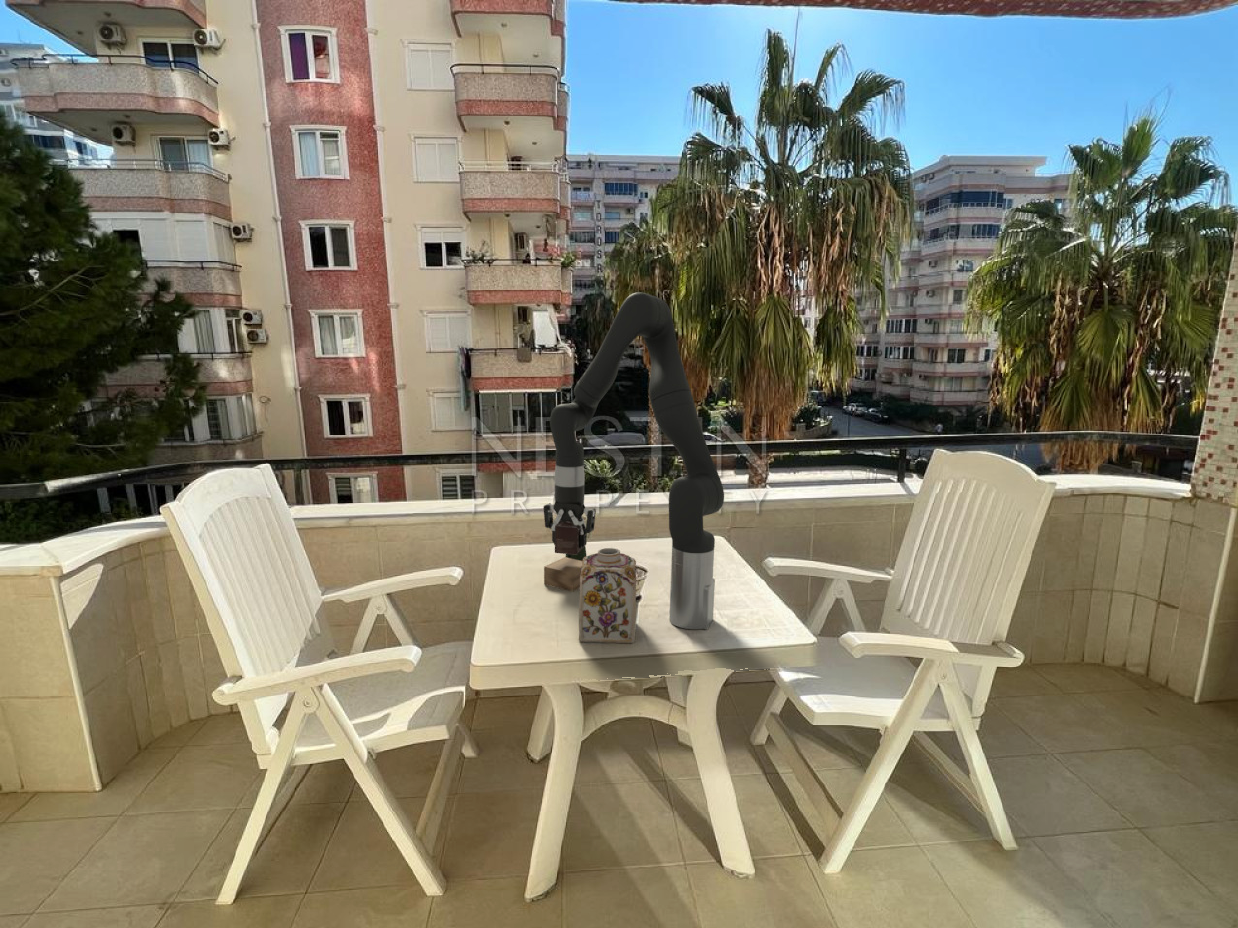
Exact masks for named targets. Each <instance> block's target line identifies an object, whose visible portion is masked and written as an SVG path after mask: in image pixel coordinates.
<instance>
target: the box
mask: <svg viewBox="0 0 1238 928" xmlns="http://www.w3.org/2000/svg"><path fill="white" fill-rule="evenodd" d="M579 534H580V533H579V526H575V525H574V523H570V522H568V521H567V522H560V523H558V524H557V525H555V545H554V553H555V554H562V555H566V554H572V555H577V554H578V553H579V552H580V551H581V550H582V549H583V548H582V549H580V548H579Z"/></svg>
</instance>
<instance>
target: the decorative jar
mask: <svg viewBox="0 0 1238 928" xmlns="http://www.w3.org/2000/svg"><path fill="white" fill-rule="evenodd" d="M636 566H637V561H636V559H635V558H633V557H632V556H630V555H628V554H625V553H621V550H619V549H618V548H613V547H607V548H606V547H605V548H602V549H601V548H600V549H599V550H598V551H597V553H593V554H589V555H586V557H584V558H583V560H582V567H581V569H582V570H581V572H580V579H579V580H580V588H579V601H578V602H579V605H578V606H579V609H578V641H579V642H581V643H606V644H607V643H608V644H634V643H635V640H636V638H635V637H636V635H635V633H636V618H637V617H636V613H637V612H636V609H637V608H636V605H637V603H636V602H637V568H636Z"/></svg>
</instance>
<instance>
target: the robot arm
mask: <svg viewBox="0 0 1238 928" xmlns="http://www.w3.org/2000/svg"><path fill="white" fill-rule="evenodd" d="M616 313H617V314H616V316H615V317H614V319H613V322H612V323H611V325H610V327H609V330H608V331H607V334H606V335H605V338H604V340H603V342H602V344H601V345H600V348H599V350H598V351H597V353H596V355H595V357H594V358H593V360H592V361H591V363H590V364H589V366H588V367H587V368H586V370H585V372H584V373H583V374H582V376H581V377H580V379H579V380H578V381H577V382H576V384H575V385H574V388H573V394H574V396H575V398H574V399H573V400H572V401H571V403H569V402H568V403H561V404H558V405H556V406H555V407H553V409H552V410H551V414H550V417H549V418H550V419H549V427H550V431H551V435H552V439H553V444H554V447H555V468H554V477H553V478H554V503H553V504H552V503H546V504H544V505H543V518H544V526H545V529H546V528H547V529H550V530H551V534H552V535H551V541H552V543H553V545H554V546H555V525H557V524H558V523H560V522H567V521H568V522H570V523H574V525H575V526H579V533H580V534H579V548H580V549H582V548H584V546H585V547H586V545H587V541H588V540H587V533H590V532H592V533H593V531H594V530H595V523H596V513H597V511H596V509H595V508H591V509H590V508H587V507H586V506H585V468H584V467H585V465H584V462H585V461H584V455H585V454H584V453H585V451H584V445H583V444H582V442H580V441H577V437H576V432H578V431H582V430H583V429H585V428H586V427H587V426H588V425H589V423H590V422H591V420H592V419H593V417H594V415H595V413H596V410H597V408H598V405H599V403H600V402H601V400H602V399H603V398H604V396H605V395H606V394H607V392H609V390H610V389H611V387H612V386H613V384H614V383H615V380H616V378H617V376H618V372H619V369H620V365H621V361H622V359H623V356H624V354H625V352H626V350H627V348H628V347H629V346H630V345H632V344H631V343H633V341H634V340H635V339H636V338H637V337H638V336H640V337H642V338H643V341H644V343H645V345H646V349H647V352H648V355H649V359H650V366H651V367H650V375H649V384H648V396H649V401H650V405H651V408H652V411H653V412H652V413H653V416H654V419H655V422H656V425H657V426H658V427H659V429H660V431H661V432H662V433H663V434H664V436H665V437H666V438H667V440H668V441H669V442H670V443H671V445H673V447H674V448H675V449H676V451H677V452H678V454H679V455H680V457H681V459H682V461H683V464H684V467H685V470H686V475H685V476H680V477H678V478H676V479H675V480H674V481H673V482H672V484H671V485H670V489H669V494H668V529H669V534H670V537H671V565H670V567H671V569H670V591H669V592H670V593H669V594H670V595H669V613H668V614H669V619H668V620H669V621H670V623H671V624H672V625H674V626H675V627H679V628H682V629H687V630H700V629H701V630H708V628H709V627H710V625H711V623H712V622H713V619H714V606H715V583H716V579H715V578H714V564H715V563H714V562H715V561H714V560H715V558H714V557H715V547H716V546H715V545H716V544H715V543H716V542H715V540H716V539H715V535H714V534H712V533H711V532H710V531H707V530H704V517H705V516H709V515H713V514H716V513H717V512H719V511H720V510H721V509H722V508H723V505H724V502H725V491H724V486H723V483H722V480H721V477H720V476H719V472H718V471H717V468H716V465H715V463H714V460H713V458H712V455H711V453H710V451H709V448H708V445H707V442H706V439H705V435H704V432H703V429H702V426H701V423H700V420H699V417H698V413H697V408H696V405H695V401H694V398H693V395H692V390H691V388H690V384H689V381H688V377H687V376H686V371H685V368H684V364H683V361H682V358H681V356H680V351H679V347H678V343H677V342H678V341H677V337H676V330H675V326H674V320H673V315H672V312H671V308H670V307H669V304H667V302H666V301H664V300H663V299H662V298H660V297H657V296H655V295H652V294H649V293H646V292H642V291H641V292H640V291H638V292H633V293H631V294H629V296H627V297H626V298H625V299H624V301H623V302H622V304H621V306H620V308H619V310H618V312H616ZM554 512H555V513H556V517H555V519H554V516H553V515H554V514H553V513H554ZM584 514H585V516H586V517H587V523H586V526H585V521H584V519H583V517H582V516H584ZM578 520H579V521H578Z"/></svg>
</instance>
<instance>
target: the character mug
mask: <svg viewBox="0 0 1238 928" xmlns="http://www.w3.org/2000/svg"><path fill="white" fill-rule="evenodd" d="M582 517H583V519H584V521H585V526H586V523H587V517H586V515H582ZM578 521H579V520H578ZM592 533H593V531H592V532H590V533H587V541H588V540H589V539H592V537H593V536H592V535H593V534H592ZM586 556H587V549H586V545H585V546H584V548H583V549H582V550H581V551H580V552H579V553H578V554H577V555H572V554H565V555H564V557H567V558H571V559H575V560H580V561H582V560H583V558H584V557H586Z"/></svg>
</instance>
